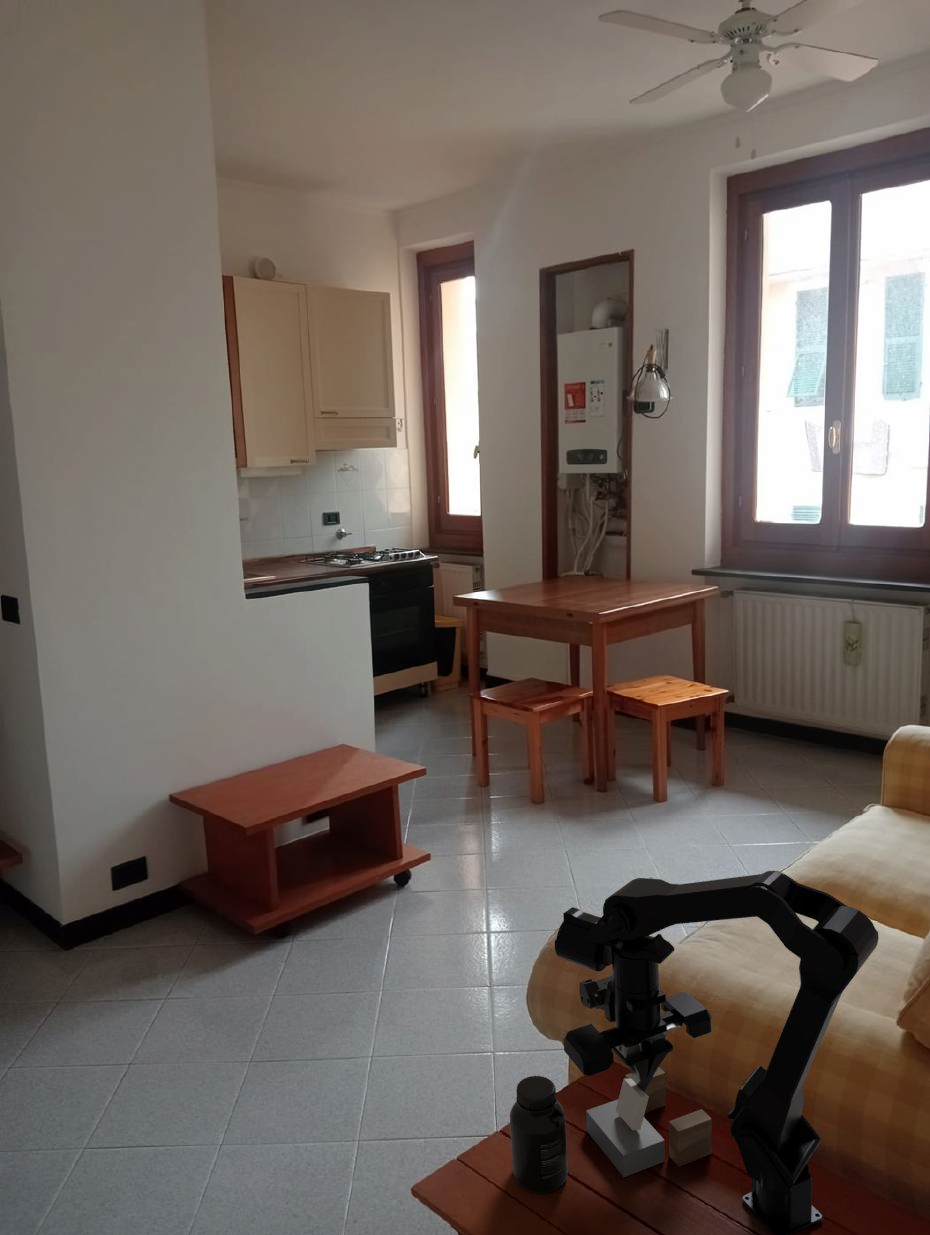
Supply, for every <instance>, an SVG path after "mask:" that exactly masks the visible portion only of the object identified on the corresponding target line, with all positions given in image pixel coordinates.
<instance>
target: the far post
mask: <svg viewBox="0 0 930 1235" xmlns="http://www.w3.org/2000/svg"><path fill="white" fill-rule="evenodd" d="M624 1077H625V1078H624V1079H632V1080H633V1081H634V1082H635V1080H634V1078H633V1075H632V1073H631V1072H630V1073H627V1074H625V1076H624ZM635 1083H636V1082H635ZM645 1094H646V1095H647V1096H648V1097H649V1098H648V1102H647V1106H646V1110H645V1114H646V1113H649V1112H652V1111H654V1110H658V1109H660V1108H663V1107H665V1106H666V1071H664V1070H663V1069H662V1068H661V1067H660V1066H659V1067H658V1069H657V1070H656V1072H655V1074H654V1075H653V1077H652V1079H651V1081H650V1083H649V1085H648V1086H647V1088H646V1090H645Z"/></svg>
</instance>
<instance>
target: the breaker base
mask: <svg viewBox="0 0 930 1235" xmlns="http://www.w3.org/2000/svg"><path fill="white" fill-rule="evenodd" d="M618 1099H619V1098H617V1099H615V1100H612V1101H609V1102H607V1103H604V1104H601V1105H598V1106H595V1107H592V1108H589V1109H587V1110H585V1114H586V1115H585V1117H586V1118H585V1119H586V1122H585V1123H586V1132H587V1133H588V1134H589V1136H590V1137H591V1138H592V1139H593V1141H594V1142H595V1143H596V1144H597V1145H598V1147H599V1148H600V1149H601V1151H602V1152H603V1153H604V1154H605V1156H606V1157H607V1158H608V1159H609V1161H610V1162H611V1163H612V1164H613V1165H614V1167H615V1168H616V1169H617V1171H618V1172H619V1173H620V1174H621V1175H622V1177H623V1178H626V1177H629V1176H631V1175H633V1174H636V1173H638V1172H641V1171H644V1170H646V1169H648V1168H652V1167H654V1166H656V1165H659V1164H662V1163H664V1162H665V1161H666V1153H665V1152H666V1149H665V1148H666V1142H665V1141H666V1140H665V1139H664V1138H663V1136H662V1135H661V1134H660V1133H659V1132H658V1131H657V1130H656V1129H655V1128H654V1127H653V1125H652V1124H651V1123H650V1122H649V1120H648V1119H646V1118H645V1117H644V1118H643V1122H642V1125H641V1129H640V1130H632V1129H631V1128H630V1127H629V1126H628V1125H627V1123H626V1122H625V1121H624V1120H623V1119H622V1118H621V1117H620V1115H619V1114H618V1113H617V1112H616V1107H617V1103H618Z"/></svg>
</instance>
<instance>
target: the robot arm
mask: <svg viewBox="0 0 930 1235" xmlns="http://www.w3.org/2000/svg"><path fill="white" fill-rule="evenodd" d="M798 915H801V916H804V917H806V918H809V919H812V920H815V921H816V922H818V923H817V924H816V925H815V926H814V927H813V928H811V927H810V926H808V924H806V923H804V922H803V921H802V919H801V918H800V917H799V916H798ZM755 917H756V918H758V919H759V920H762V921H763V922H764V923H765V924H767V925H768V926H769V927H770V928H771V930H772V931H773V933H774V934H775V935H776V936H777V938H778V939H779V941H780V942H781V943H782V944H783V946H784V947H785V948H786V950H788V952H791V953H792V954H794V955H795V956H797V957H798V958H799V959H800V960H799V964H798V965H799V966H798V973H799V981H800V985H799V989H798V991H797V993H796V997H795V999H794V1001H793V1004H792V1006H791V1009H790V1012H789V1014H788V1016H787V1019H786V1021H785V1024H784V1026H783V1029H782V1031H781V1033H780V1036H779V1038H778V1041H777V1043H776V1046H775V1048H774V1051H773V1054H772V1056H771V1058H770V1061H769V1063H768V1065H767V1068H766V1069H765V1068H764V1067H763V1066H762V1065H761V1064H758V1065H757V1066H756V1068H755V1069H754V1070H753V1072H752V1073H751V1074H750V1075H749V1077H748V1078H747V1079H746V1080H745V1082H744V1083H743V1084H742V1085H741V1087H740V1088H739V1089H738V1091H737V1094H736V1097H735V1104H734V1107H733V1108H732V1109H731V1110H730V1112H729V1113H728V1115H727V1119H730V1120H732V1121H731V1123H730V1134H731V1136H732V1137H733V1138H734V1140H735V1143H736V1144H737V1146H738V1150H739V1152H740V1155H741V1159H742V1161H743V1165H744V1168H745V1170H746V1173H747V1176H748V1178H750V1179H751V1189H752V1191H751V1192H748V1193H747V1194H745V1195H743V1196H742V1203H743V1204H744V1205H745V1206H746V1207H747V1208H748V1209H749V1210H750V1212H752V1214H753V1215H755V1217H756V1218H758V1220H759V1221H760V1222H761V1223H762V1224H763V1225H764V1226H765V1228H767V1230H769V1232H770V1233H771V1234H772V1235H794V1234H796V1233H798V1232H800V1231H803V1230H805V1229H807V1228H809V1227H812V1226H814V1225H816V1224H818V1223H820V1222H822V1221H823V1214H822V1213H820V1211H819V1210H818V1209H816V1208H815V1206H813V1176H812V1174H811V1173H809V1172H810V1171H809V1164H808V1162H809V1160H810V1158H811V1157H812V1155H813V1154H815V1152H816V1151H817V1149H818V1147H819V1145H820V1143H821V1142H822V1141H821V1140H822V1139H821V1137H820V1136H819V1134H818V1133H817V1132H816V1131H815V1129H814V1128H813V1126H812V1125H811V1124H810V1122H809V1121H808V1119H806V1117H805V1116H804V1115H803V1109H804V1108H803V1107H804V1102H805V1098H804V1090H803V1088H804V1083H805V1081H806V1079H807V1076H808V1073H809V1072H810V1069H811V1067H812V1064H813V1062H814V1060H815V1057H816V1056H817V1053H818V1050H819V1048H820V1046H821V1043H822V1041H823V1038H824V1036H825V1033H826V1032H827V1029H828V1027H829V1025H830V1023H831V1019H832V1017H833V1014H834V1012H835V1010H836V1008H837V1006H838V1003H839V1001H840V998H841V996H842V994H843V992H844V991H845V989H846V988H847V987H848V985H849V984H850V983H851V982H852V980H853V978H854V977H855V976H856V975H857V973H858V972H859V971H860V969H861V968H862V966H863V965H864V964H865V963H866V962H867V960H868V959H869V957H870V956H871V955H872V953H873V952H874V951H875V950H876V948H877V946H878V944H879V943H878V942H879V931H878V930H877V929H876V927H875V925H874V923H873V922H872V920H871V919H870V918H869V917H868V916H867V915H866V914H865V913H864V912H862V911H861V910H859V909H856V908H854V907H852V906H848V905H846V903H845V904H844V902H842V901H840V900H839V899H837V898H836V897H834V896H833V895H831V894H830V893H828V892H825V891H821V890H819V889H816V888H814V887H811V886H807V885H805V884H802V883H800V882H797V881H796V880H794V879H793V878H792V877H790V876H788V875H787V874H786V873H784V872H782V871H780V870H779V871H778V870H767V871H764V872H763V873H759V874H753V875H744V876H737V877H728V878H727V877H726V878H720V879H712V880H705V881H704V880H703V881H696V882H688V883H680V884H679V883H669V882H668V881H665V880H663V879H658V878H645V877H636V878H634V879H632V880H630V881H629V882H628V883H626V884H624V885H623V886H622V887H621V888H619V889H618V890H617V891H615V892H613V894H610V896H608V897H607V898H606V899H605V900H604V903H603V906H602V916H597V915H594V914H593V913H592V914H591V913H588V912H585V911H583V910H582V909H579V908H577V907H573V906H572V907H570V908H569V909H567V910H566V911H565V912H563V921H562V923H561V924H560V926H559V929H558V931H557V933H556V934H557V935H556V937H555V940H554V951H555V953H556V955H557V957H558V958H560V959H561V960H565V961H567V962H569V963H573V964H575V965H578V966H579V967H580V966H581V967H584V968H586V969H588V970H592V971H595V972H601V971H604V970H605V968H606V967H609V966H611V971H612V975H609V976H606V977H603V978H600V979H597V980H595V979H594V980H593V979H591V978H588V979H585V980H583V981H579V988H578V989H579V990H578V991H579V998H580V1002H581V1004H582V1006H583V1007H585V1008H588V1009H590V1010H592V1009H594V1008H595V1009H596V1010H602V1011H604V1014H605V1015H604V1018H605V1019H606V1020H607V1021H608V1022H609V1023H613V1022H614V1025H615V1026H614V1027H612V1028H609V1029H606V1030H603V1031H599V1030H598V1029H597V1028H596V1027H595V1026H594V1025H593V1024H592V1023H589V1024H587V1025H583V1026H581V1027H577V1028H575V1029H574V1028H573V1029H572V1030H569V1031H567V1032H566V1033H564V1037H563V1051H564V1053H565V1054H566V1055H567V1056H568V1058H569V1059H570V1060H571V1061H572V1062H573V1064H575V1066H576V1067H577V1068H578V1069H579V1071H580V1072H581V1073H582V1074H583V1075H584V1076H590V1077H591V1076H593V1075H596V1074H599V1073H601V1072H604V1071H607V1070H609V1069H610V1068H611V1066H613V1063H614V1062H615V1061H614V1057H615V1056H614V1053H615V1054H616V1055H617V1056H618V1058H619V1059H620V1060H621V1061H622V1062H623V1064H625V1065H626V1066H627V1067H628V1069H629V1071H630V1073H632V1075H633V1078H634V1080H635V1082H636V1084H637V1086H638V1087H639V1088H640V1089H641V1090H642V1091H644V1092H645V1090H646V1088H647V1086H648V1085H649V1083H650V1081H651V1079H652V1077H653V1075H654V1074H655V1072H656V1070H657V1069H658V1067H660V1066H661V1064H662V1063H663V1061H664V1059H665V1058H666V1057H667V1055H668V1054H669V1053H671V1052H673V1050H674V1045H673V1044H672V1043H671V1042H670V1041H669V1040H668V1039H667V1038H668V1036H667V1032H670V1031H673V1030H676V1029H679V1028H682V1027H684V1025H685V1032H686V1033H687V1034H688V1035H689V1036H691V1037H692V1038H693V1039H696V1038H699V1037H702V1036H703V1035H708V1034H710V1033H712V1030H713V1017H712V1014H711V1013H710V1010H709V1009H708V1008H706V1006H704V1005H703V1004H702V1003H700V1001H698V1000H697V999H696V998H695V997H694V996H693V995H692V994H690V993H689V992H688V991H684V992H680V993H677V994H674V995H672V996H669V997H666V993H665V992H664V991H663V990H661V988H660V970H659V968H660V967H659V965H660V964H662V963H663V962H664V961H666V959H667V958H668V957H669V956H670V955H671V954H672V953H674V952H675V947H674V945H673V944H672V943H671V942H670V941H668V940H666V939H665V938H664V937H663V936H662V934H661V933H657V932H661V931H662V930H664V929H666V928H668V927H671V926H675V925H683V924H691V923H693V924H695V923H703V922H714V921H724V920H733V919H745V918H746V919H747V918H755ZM656 933H657V934H656ZM653 934H656V935H655V936H652V935H653ZM661 1010H662V1011H663V1012H661Z"/></svg>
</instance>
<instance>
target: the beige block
mask: <svg viewBox="0 0 930 1235" xmlns="http://www.w3.org/2000/svg"><path fill="white" fill-rule="evenodd" d="M712 1125H713V1122H712V1118H711V1117H710V1115H708V1114H707V1113H706V1111H704V1110H703V1109H702V1108H701V1109H698V1110H696V1111H693V1112H690V1113H688V1114H685V1115H682V1116H680V1117H676V1118H675V1119H672V1120H669V1121H668V1148H669V1150H668V1156H669V1158H670V1159H671V1160H672V1161H673V1162H674V1163H675V1164H676V1166H677V1167H683V1166H685V1165H688V1164H690V1163H692V1162H695V1161H697V1160H700V1159H703V1158H704V1157H705V1158H706V1157H707V1156H710V1155H712V1152H713V1149H712V1146H713V1144H712V1143H713V1141H712V1140H713V1136H712V1134H713V1131H712V1130H713V1129H712V1127H713V1126H712Z"/></svg>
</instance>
